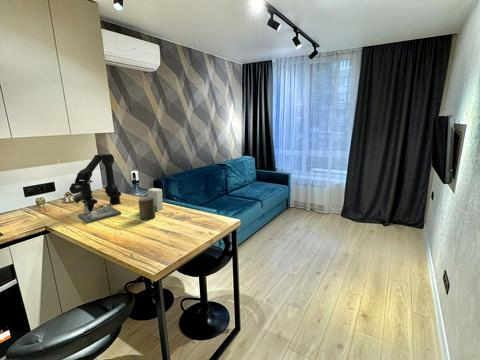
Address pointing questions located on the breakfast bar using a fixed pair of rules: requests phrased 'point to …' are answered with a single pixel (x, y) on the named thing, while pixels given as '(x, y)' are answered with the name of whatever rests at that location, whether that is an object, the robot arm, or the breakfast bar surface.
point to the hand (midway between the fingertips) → (89, 211)
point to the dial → (87, 209)
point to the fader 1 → (93, 214)
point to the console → (99, 215)
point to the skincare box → (156, 198)
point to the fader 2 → (105, 207)
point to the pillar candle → (146, 208)
